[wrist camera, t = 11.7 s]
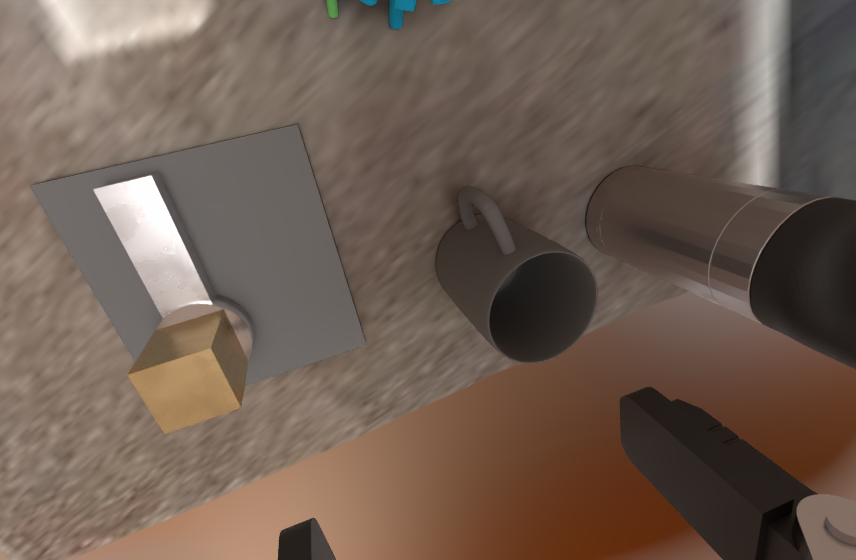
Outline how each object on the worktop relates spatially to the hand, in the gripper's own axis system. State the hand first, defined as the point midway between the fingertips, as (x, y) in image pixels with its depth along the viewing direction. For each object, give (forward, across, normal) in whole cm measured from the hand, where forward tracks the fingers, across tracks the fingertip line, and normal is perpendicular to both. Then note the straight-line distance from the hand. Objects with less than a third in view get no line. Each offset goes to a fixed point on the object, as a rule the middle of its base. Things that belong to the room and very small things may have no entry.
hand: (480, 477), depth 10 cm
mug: (+29, -10, +5) cm, 31 cm away
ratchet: (+27, +14, +1) cm, 31 cm away
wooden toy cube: (+25, +14, +6) cm, 29 cm away
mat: (+28, +11, +2) cm, 30 cm away
